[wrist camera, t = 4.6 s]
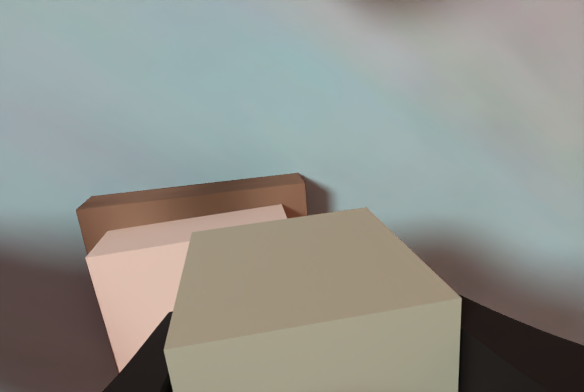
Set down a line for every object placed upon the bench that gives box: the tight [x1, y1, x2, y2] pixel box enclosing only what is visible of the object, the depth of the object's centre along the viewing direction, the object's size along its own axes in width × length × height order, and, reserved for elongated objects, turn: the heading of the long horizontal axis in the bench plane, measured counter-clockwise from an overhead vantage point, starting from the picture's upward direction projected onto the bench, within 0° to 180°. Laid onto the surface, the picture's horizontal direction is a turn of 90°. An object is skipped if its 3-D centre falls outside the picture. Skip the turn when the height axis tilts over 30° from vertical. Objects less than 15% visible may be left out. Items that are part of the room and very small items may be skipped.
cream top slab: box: [85, 204, 287, 373], centre depth 16 cm, size 7×7×2 cm
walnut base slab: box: [76, 173, 307, 374], centre depth 18 cm, size 9×9×2 cm
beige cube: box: [164, 207, 462, 392], centre depth 9 cm, size 4×4×4 cm
